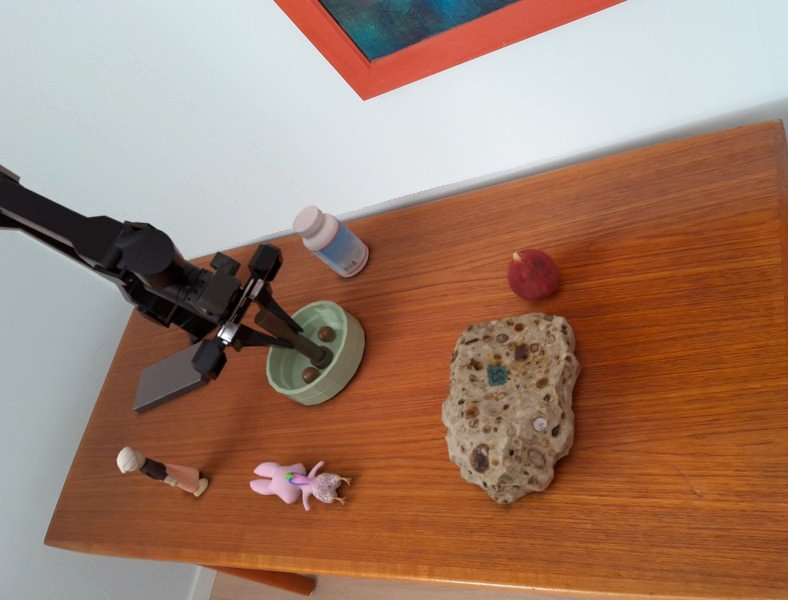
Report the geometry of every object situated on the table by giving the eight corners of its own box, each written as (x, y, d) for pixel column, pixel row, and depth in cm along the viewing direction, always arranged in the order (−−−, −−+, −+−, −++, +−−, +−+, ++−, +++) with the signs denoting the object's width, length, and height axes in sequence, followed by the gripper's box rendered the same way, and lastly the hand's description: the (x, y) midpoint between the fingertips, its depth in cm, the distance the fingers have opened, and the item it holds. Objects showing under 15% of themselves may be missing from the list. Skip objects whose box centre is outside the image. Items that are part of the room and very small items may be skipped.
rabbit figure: (362, 470, 82) (267, 457, 89) (338, 455, 78) (240, 443, 84) (348, 520, 80) (252, 504, 86) (322, 508, 75) (222, 491, 81)
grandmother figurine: (217, 474, 94) (141, 444, 85) (205, 501, 93) (127, 473, 84) (186, 467, 99) (111, 437, 90) (174, 492, 98) (97, 465, 88)
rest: (149, 373, 117) (141, 369, 116) (214, 342, 111) (207, 338, 110) (140, 413, 112) (132, 410, 111) (207, 383, 106) (200, 379, 105)
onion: (576, 275, 78) (549, 236, 72) (555, 317, 76) (525, 281, 70) (536, 267, 81) (507, 229, 76) (515, 307, 80) (484, 272, 74)
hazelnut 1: (307, 378, 93) (296, 371, 91) (320, 367, 93) (309, 360, 91) (312, 390, 91) (300, 383, 90) (325, 379, 91) (313, 371, 89)
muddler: (313, 359, 94) (248, 316, 85) (329, 344, 94) (266, 300, 85) (319, 374, 92) (253, 332, 83) (336, 359, 92) (272, 316, 83)
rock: (470, 352, 82) (446, 301, 74) (589, 345, 77) (577, 290, 70) (448, 513, 70) (418, 472, 62) (587, 515, 65) (573, 472, 58)
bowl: (279, 359, 99) (257, 345, 96) (349, 298, 97) (329, 282, 94) (302, 426, 90) (279, 414, 87) (380, 361, 88) (359, 345, 85)
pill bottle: (373, 240, 101) (325, 195, 93) (367, 273, 98) (317, 229, 90) (342, 250, 104) (293, 207, 96) (335, 282, 101) (284, 241, 93)
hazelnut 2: (323, 338, 95) (311, 330, 94) (335, 327, 95) (324, 319, 93) (327, 348, 94) (316, 341, 92) (340, 338, 93) (329, 330, 92)
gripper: (133, 336, 76) (257, 396, 77) (215, 203, 81) (331, 261, 82) (158, 353, 87) (266, 405, 88) (229, 235, 92) (331, 286, 93)
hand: (298, 339), depth 87 cm, fingers closed on muddler, 2 cm apart
